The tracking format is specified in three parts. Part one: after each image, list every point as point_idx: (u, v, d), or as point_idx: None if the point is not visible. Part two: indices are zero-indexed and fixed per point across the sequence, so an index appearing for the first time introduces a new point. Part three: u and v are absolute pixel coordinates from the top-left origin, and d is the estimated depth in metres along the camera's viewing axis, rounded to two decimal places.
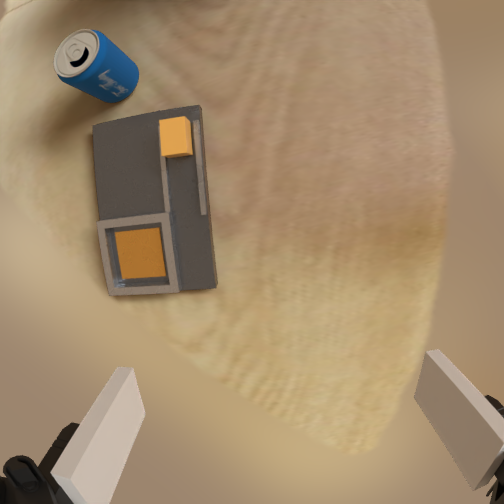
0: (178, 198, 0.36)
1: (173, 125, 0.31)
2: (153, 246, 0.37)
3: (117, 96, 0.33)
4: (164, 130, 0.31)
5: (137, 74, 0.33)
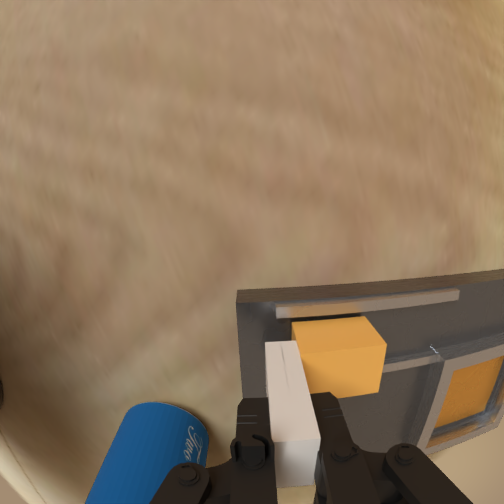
0: (419, 339, 0.17)
1: (318, 375, 0.13)
2: (469, 373, 0.17)
3: (202, 444, 0.18)
4: None
5: (157, 408, 0.18)
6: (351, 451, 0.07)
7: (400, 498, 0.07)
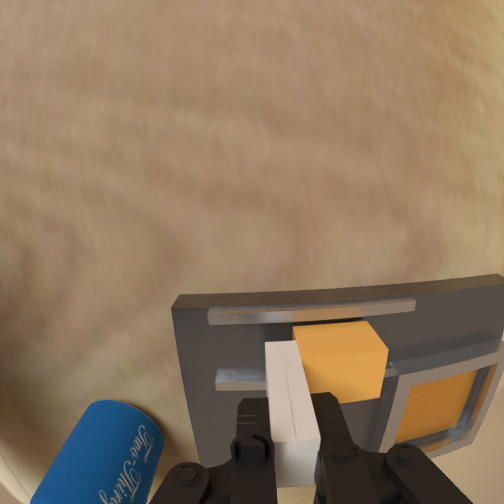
0: None
1: (319, 380, 0.13)
2: (434, 388, 0.17)
3: (152, 443, 0.18)
4: None
5: (111, 406, 0.18)
6: (351, 451, 0.07)
7: (400, 498, 0.07)
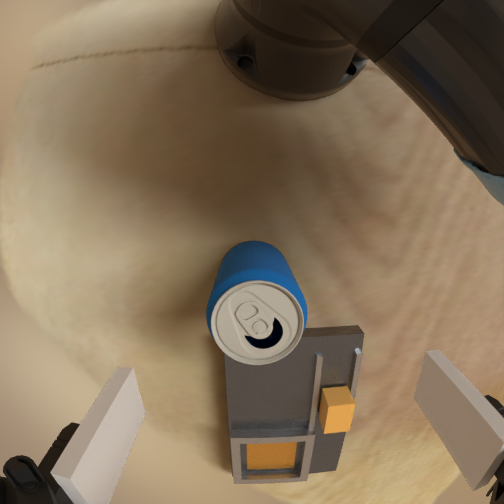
0: None
1: (342, 411, 0.28)
2: (287, 450, 0.33)
3: None
4: (332, 415, 0.28)
5: None
6: None
7: None
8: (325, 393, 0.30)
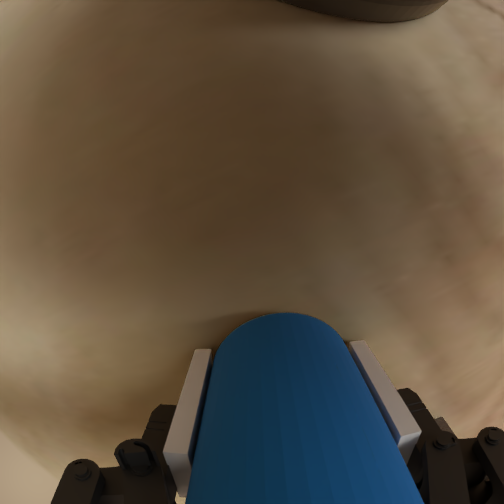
0: None
1: None
2: None
3: None
4: None
5: None
6: (450, 441, 0.07)
7: (480, 481, 0.06)
8: None
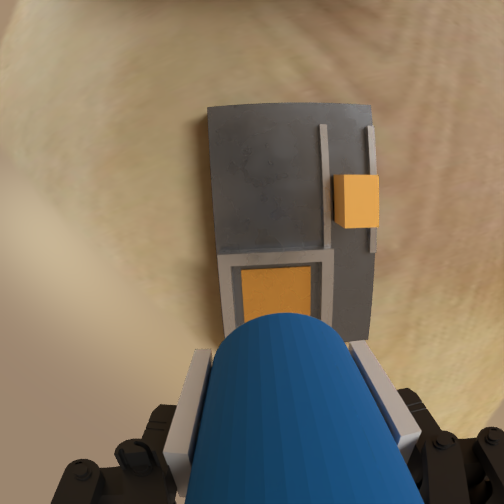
0: (340, 228, 0.27)
1: (363, 186, 0.22)
2: (298, 291, 0.28)
3: None
4: (351, 191, 0.22)
5: None
6: (450, 441, 0.07)
7: (480, 481, 0.06)
8: None
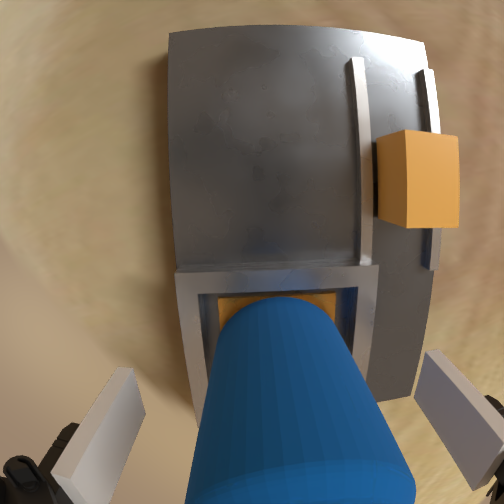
0: (385, 230, 0.15)
1: (437, 153, 0.11)
2: None
3: None
4: (417, 160, 0.11)
5: None
6: None
7: None
8: (386, 136, 0.13)
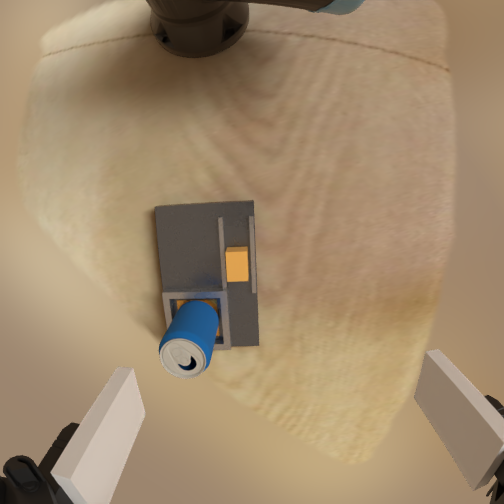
0: None
1: (237, 258, 0.41)
2: None
3: None
4: (229, 261, 0.41)
5: (218, 323, 0.45)
6: None
7: None
8: (227, 248, 0.43)
